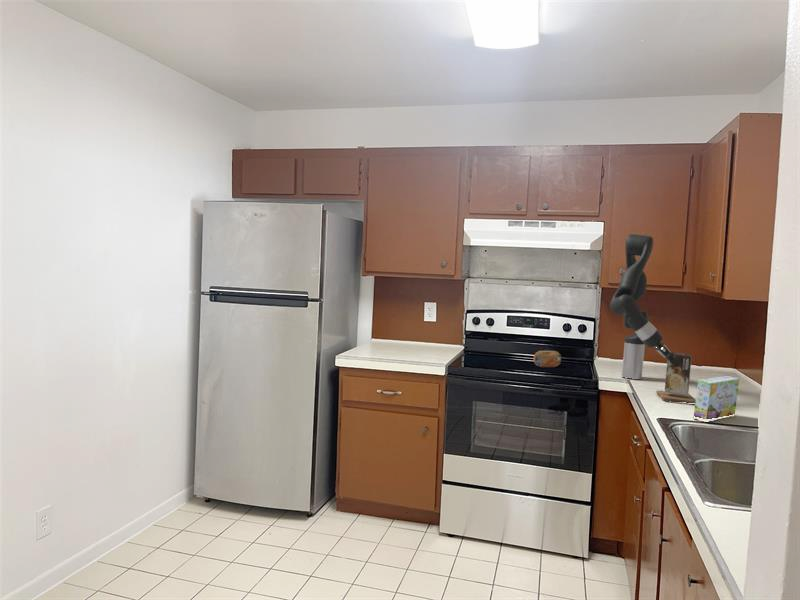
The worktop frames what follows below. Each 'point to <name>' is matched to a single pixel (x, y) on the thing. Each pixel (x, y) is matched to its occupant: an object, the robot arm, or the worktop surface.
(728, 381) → the snack box
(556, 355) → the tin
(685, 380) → the coffee box
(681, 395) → the board
